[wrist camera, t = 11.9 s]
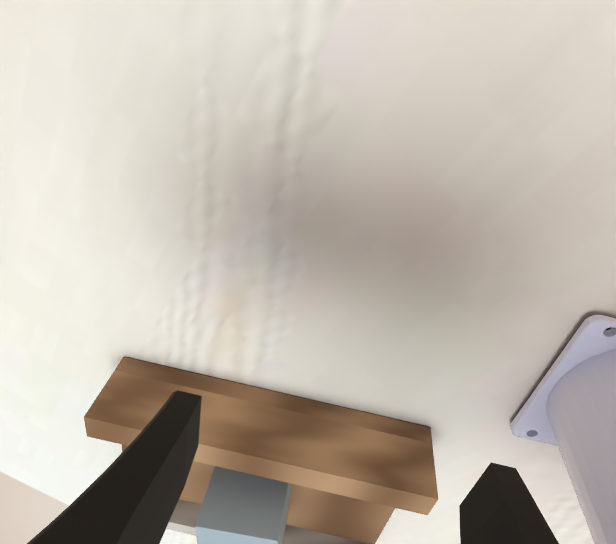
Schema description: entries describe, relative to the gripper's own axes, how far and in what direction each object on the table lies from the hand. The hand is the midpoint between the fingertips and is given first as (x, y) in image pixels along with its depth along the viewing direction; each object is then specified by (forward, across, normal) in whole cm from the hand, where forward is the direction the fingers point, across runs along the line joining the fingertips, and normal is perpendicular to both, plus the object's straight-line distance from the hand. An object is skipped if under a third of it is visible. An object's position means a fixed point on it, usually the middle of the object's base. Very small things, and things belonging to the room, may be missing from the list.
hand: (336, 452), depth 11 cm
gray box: (+8, +2, +16) cm, 18 cm away
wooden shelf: (+9, +2, +16) cm, 19 cm away
